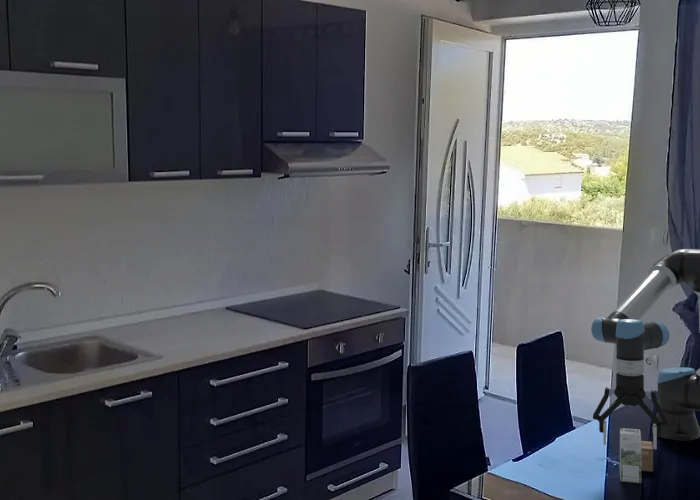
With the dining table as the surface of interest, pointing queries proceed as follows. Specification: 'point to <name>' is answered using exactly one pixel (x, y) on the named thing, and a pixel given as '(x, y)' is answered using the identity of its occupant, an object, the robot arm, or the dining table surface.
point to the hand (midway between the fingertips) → (629, 445)
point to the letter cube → (646, 456)
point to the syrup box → (630, 455)
